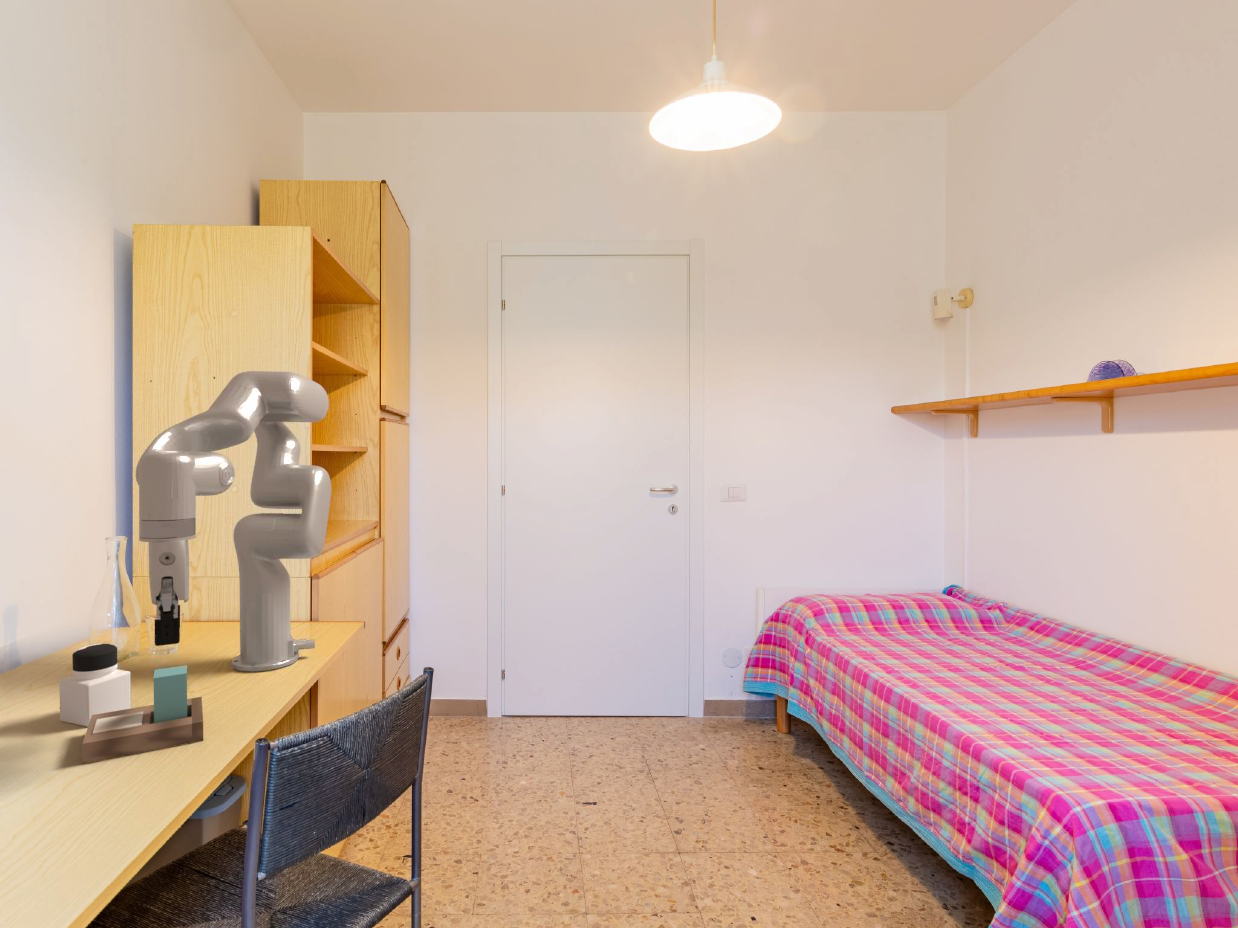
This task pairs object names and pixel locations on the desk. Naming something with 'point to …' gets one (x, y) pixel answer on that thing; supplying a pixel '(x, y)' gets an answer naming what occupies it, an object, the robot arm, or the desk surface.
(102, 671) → the medicine bottle
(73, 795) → the desk surface
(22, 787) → the desk surface
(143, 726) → the pocket board
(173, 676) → the peg
